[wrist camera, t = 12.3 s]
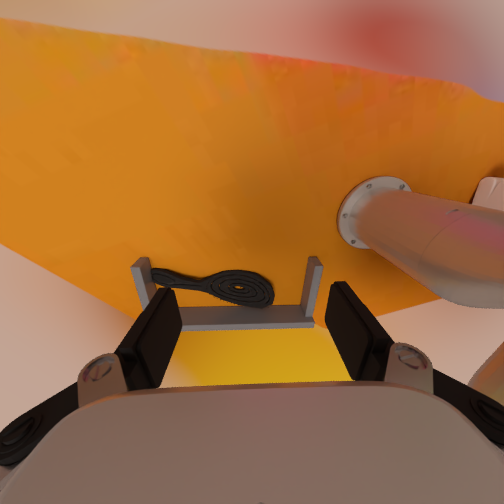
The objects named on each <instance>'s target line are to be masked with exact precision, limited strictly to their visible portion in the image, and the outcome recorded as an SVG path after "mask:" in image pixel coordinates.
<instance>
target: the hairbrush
mask: <svg viewBox="0 0 504 504" xmlns="http://www.w3.org/2000/svg"><path fill="white" fill-rule="evenodd" d="M150 272H151V274H153V275H152V276H151V277H152V281H153V282H154V283H156V284H159V285H161V286H164V287H170V288H181V289H189V290H198V291H202V292H207V293H209V294H212V295H214V296H216V297H218V298H220V300H221V299H222V300H225V301H228V302H231V303H234V304H238V305H242V306H245V307H246V306H247V307H253V308H265V307H268V306H269V305H272V304H273V301H274V297H275V294H274V290H273V288H272V286H271V285H270V283H269V282H268V281H266V280H265V279H264V278H262V277H261V276H260V275H258V274H257V273H254V272H250V271H245V270H226V271H224V272H223V271H222V272H221V273H216V274H214V275H212V276H209V277H207V278H204V279H202V280H195V279H191V278H186V277H182V276H179V275H177V274H175V273H172V272H170V271H168V270H164V269H159V268H156V269H153V268H152V269H151V270H150ZM212 281H213V282H212ZM211 283H212V284H211ZM219 284H220V287H219ZM230 284H231V285H230ZM229 285H230V286H229ZM228 286H229V287H230V288H229V287H228ZM235 286H240V288H241V287H243V288H244V289H243V288H242V289H239V288H238V289H237V287H236V288H234V287H235ZM256 291H257V292H256ZM264 292H265V295H264ZM269 295H270V297H269ZM268 308H269V307H268Z"/></svg>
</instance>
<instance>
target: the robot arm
mask: <svg viewBox="0 0 504 504" xmlns="http://www.w3.org/2000/svg"><path fill="white" fill-rule="evenodd" d="M366 186H367V187H366ZM343 214H344V215H343ZM337 226H338V230H339V233H340V235H341V237H342V238H343V239H344V240H345V241H346V242H347V243H348V244H350V245H351V246H353V247H356V248H360V249H370V248H371V249H373V250H374V251H375V252H377V253H378V254H380V255H381V256H382V257H384V258H385V259H387V260H388V261H389V262H391V263H392V264H394V265H395V266H396V267H398V268H399V269H401V270H402V271H404V272H405V273H406V274H408V275H409V276H411V277H412V278H413V279H415V280H416V281H418V282H419V283H421V284H422V285H423V286H425V287H426V288H428V289H429V290H431V291H432V292H434V293H435V294H437V295H438V296H440V297H442V298H443V299H445V300H448V301H450V302H453V303H455V304H458V305H462V306H467V307H475V308H493V309H495V308H496V309H504V211H502V210H496V209H492V208H487V207H482V206H477V205H472V204H468V203H463V202H458V201H453V200H448V199H444V198H439V197H434V196H429V195H424V194H420V193H415V192H412V191H411V188H410V187H409V186H408V185H407V183H405V182H404V181H403V180H401V179H399V178H396V177H391V176H379V177H374V178H371V179H368V180H366V181H364V182H362V183H361V184H359V185H358V186H357V187H355V188H354V189H353V190H352V191H351V192H350V193H349V194H348V195H347V197H346V198H345V200H344V201H343V203H342V205H341V207H340V209H339V213H338V218H337ZM325 323H326V326H327V328H328V330H329V332H330V334H331V336H332V338H333V341H334V343H335V345H336V347H337V349H338V351H339V353H340V355H341V358H342V360H343V362H344V364H345V366H346V368H347V371H348V373H349V375H350V377H351V379H352V380H355V381H325V382H296V383H295V382H294V383H269V384H268V383H267V384H241V385H240V384H239V385H216V386H193V387H172V388H158V387H159V386H160V385H161V382H162V379H163V377H164V374H165V371H166V369H167V366H168V364H169V361H170V358H171V356H172V354H173V351H174V348H175V346H176V343H177V340H178V338H179V335H180V332H181V330H182V325H183V324H182V319H181V315H180V311H179V308H178V304H177V300H176V296H175V292H174V290H171V288H170V287H164V288H159V289H158V290H157V292H156V293H155V295H154V296H153V298H152V299H151V301H150V302H149V303H148V305H147V306H146V308H145V309H144V311H143V312H142V313H141V314H140V315H139V317H138V318H137V320H136V321H135V323H134V324H133V326H132V327H131V329H130V330H129V331H128V333H127V334H126V336H125V337H124V339H123V340H122V342H121V343H120V345H119V346H118V348H117V349H116V351H115V352H114V353H107V354H103V355H101V356H98V357H96V358H95V359H93V360H92V361H90V362H89V363H88V364H86V365H85V367H84V368H83V369H82V370H81V372H80V373H79V375H78V380H77V382H76V383H74V384H72V385H70V386H69V387H67V388H66V389H64V390H62V391H61V392H59V393H57V394H56V395H54V396H52V397H51V398H49V399H47V400H46V401H44V402H43V403H41V404H39V405H37V406H36V407H34V408H32V409H31V410H29V411H27V412H26V413H24V414H23V415H21V416H19V417H18V418H16V419H15V420H14V421H12V422H11V423H10V424H9V425H8V426H6V427H5V428H4V429H3V430H2V431H1V432H0V504H504V342H503V343H502V344H501V345H500V346H499V347H498V348H497V350H496V351H495V352H494V353H493V354H492V355H491V356H490V357H489V358H488V359H487V360H486V362H485V363H484V364H483V365H482V366H481V367H480V368H479V369H478V370H477V371H476V373H475V374H474V375H473V377H472V378H471V379H470V381H469V383H468V385H465V384H463V383H461V382H459V381H457V380H455V379H453V378H451V377H449V376H447V375H445V374H443V373H441V372H439V371H437V370H435V369H433V367H432V363H431V361H430V360H429V358H428V357H427V356H426V355H425V354H424V353H423V352H422V351H420V350H419V349H418V348H416V347H414V346H412V345H409V344H406V343H400V342H399V343H395V342H394V341H393V340H392V339H391V337H390V336H389V335H388V334H387V332H386V331H385V330H384V328H383V327H382V326H381V325H380V323H379V322H378V321H377V320H376V318H375V317H374V316H373V314H372V313H371V312H370V311H369V309H368V308H367V307H366V306H365V305H364V304H363V303H362V302H361V300H360V299H359V298H358V297H357V295H356V294H355V293H354V291H353V290H352V289H351V288H350V286H349V285H348V284H347V283H346V282H345V281H337V282H334V284H331V287H330V292H329V298H328V303H327V308H326V313H325Z"/></svg>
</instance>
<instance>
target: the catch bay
mask: <svg viewBox="0 0 504 504" xmlns="http://www.w3.org/2000/svg"><path fill="white" fill-rule="evenodd" d="M130 268H131V271H132V275H133V278H134V281H135V285H136V288H137V291H138V295H139V298H140V301H141V305H142V308H143V311H144V309H145V308H146V306H147V305H148V303H149V302H150V301H151V299H152V298H153V296H154V295H155V293H156V292H157V290H156V286H155V283H154V282H153V281H152V277H151V276H152V275H153V274H151V272H150V270H151V266H150V261H149V258H139V259H138V260H137V261H136V262H135V263H134V264H133V265H132V266H131V267H130ZM322 270H323V265H322V264H321V262H320V261H319V260H318V258H317V257H309V259H308V264H307V270H306V276H305V281H304V287H303V293H302V298H301V304H300V305H271V306H268V307H269V308H268V307H265V308H253V307H247V306H246V307H245V306H220V307H178V308H179V311H180V315H181V319H182V324H183V325H182V330H181V331H207V330H209V331H210V330H244V329H245V330H246V329H247V330H248V329H282V328H283V329H284V328H313V327H314V324H315V322H314V319H313V317H312V316H313V311H314V307H315V302H316V298H317V293H318V288H319V284H320V279H321V275H322Z"/></svg>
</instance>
